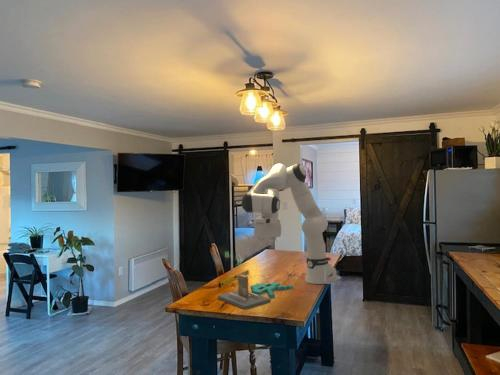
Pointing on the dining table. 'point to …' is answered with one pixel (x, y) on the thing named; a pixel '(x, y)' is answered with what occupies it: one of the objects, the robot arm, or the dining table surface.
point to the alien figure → (268, 288)
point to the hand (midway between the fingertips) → (267, 245)
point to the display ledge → (244, 299)
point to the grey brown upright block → (243, 286)
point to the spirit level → (232, 279)
